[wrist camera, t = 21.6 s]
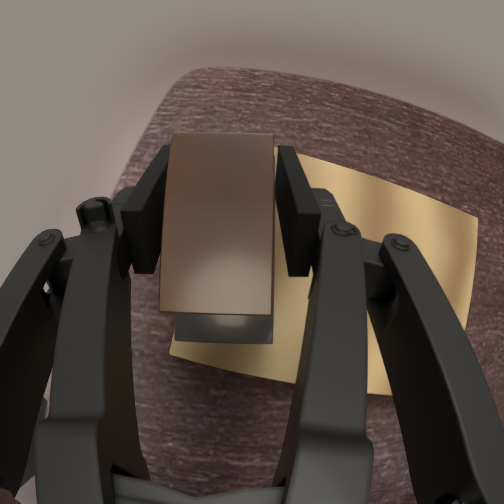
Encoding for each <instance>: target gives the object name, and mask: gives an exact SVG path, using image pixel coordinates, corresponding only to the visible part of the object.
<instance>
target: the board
mask: <svg viewBox="0 0 504 504" xmlns="http://www.w3.org/2000/svg"><path fill="white" fill-rule="evenodd" d="M277 154H278V148H274V155H275V178H276V166H277ZM296 154H297V153H296ZM297 156H298V158H299V161H300V163H301V165H302V168H303V170H304V172H305V175H306V177H307V179H308V182H309V184H310V187H311V188H325V189H327V190H328V191H329V192H330V193H332V194H333V196H334V198H335V200H336V202H337V204H338V206H339V208H340V210H341V212H342V214H343V216H344V218H345V220H346V221H347V222H350V223H351V224H353V225H355V226H356V227H357V228H358V229H359V230H360V232H361V237H362V238H365V239H368V240H372V241H376V242H380V243H382V241H383V238H384V236H385V235H387V234H390V233H396V234H402V235H403V236H406V237H408V238H409V239H411V240H412V241H413V242H414V243H415V244H416V245H417V247H418V248H419V250H420V252H421V253H422V255H423V257H424V258H425V260H426V261H427V263H428V265H429V266H430V268H431V270H432V271H433V273H434V275H435V277H436V278H437V280H438V282H439V284H440V285H441V287H442V289H443V291H444V293H445V294H446V296H447V298H448V300H449V302H450V304H451V306H452V307H453V309H454V311H455V313H456V315H457V317H458V319H459V321H460V323H461V325H462V327H463V329H464V331H465V326H466V321H467V316H468V311H469V305H470V299H471V293H472V286H473V278H474V270H475V260H476V249H477V234H478V218H476V217H474V216H471V215H469V214H467V213H465V212H463V211H460V210H458V209H456V208H453V207H451V206H449V205H446V204H444V203H442V202H439V201H437V200H434V199H432V198H429V197H427V196H424V195H422V194H419V193H417V192H414V191H412V190H409V189H406V188H404V187H401V186H398V185H396V184H393V183H390V182H387V181H384V180H382V179H379V178H376V177H373V176H370V175H367V174H364V173H361V172H358V171H355V170H352V169H349V168H345V167H342V166H339V165H336V164H332V163H329V162H326V161H322V160H319V159H315V158H312V157H308V156H305V155H301V154H297ZM312 277H313V271H312V267H311V268H310V273H309V277H288V271H287V265H286V259H285V253H284V246H283V241H282V235H281V229H280V223H279V217H278V211H277V206H276V200H275V280H274V326H273V344H224V343H200V342H182V341H175V340H174V333H173V338H172V342H171V347H170V352H169V354H170V355H173V356H176V357H180V358H183V359H187V360H190V361H194V362H198V363H202V364H205V365H209V366H213V367H217V368H221V369H226V370H230V371H234V372H238V373H243V374H248V375H252V376H257V377H262V378H267V379H272V380H277V381H283V382H288V383H294V384H295V382H296V377H297V371H298V365H299V360H300V354H301V348H302V341H303V335H304V328H305V322H306V315H307V308H308V301H309V299H307V298H308V294H309V289H310V285H311V281H312ZM367 329H368V387H367V393H368V394H379V395H392V392H391V388H390V384H389V381H388V377H387V373H386V370H385V366H384V363H383V359H382V356H381V353H380V349H379V346H378V343H377V340H376V336H375V333H374V330H373V327H372V324H371V321H370V318H369V315H368V312H367Z"/></svg>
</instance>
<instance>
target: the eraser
mask: <svg viewBox="0 0 504 504" xmlns="http://www.w3.org/2000/svg"><path fill="white" fill-rule="evenodd" d="M274 280H275V155H274V135H273V134H262V133H232V132H188V133H172V138H171V145H170V153H169V161H168V170H167V179H166V189H165V200H164V211H163V224H162V239H161V257H160V281H159V311H160V312H168V313H174V340H175V341H182V342H200V343H224V344H273V326H274Z"/></svg>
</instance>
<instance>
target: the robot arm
mask: <svg viewBox="0 0 504 504" xmlns="http://www.w3.org/2000/svg"><path fill="white" fill-rule="evenodd" d="M169 153H170V145H163V147H162V148H161V150H160V151H159V152H158V154H157V155H156V157H155V158H154V159H153V161H152V162H151V164H150V165H149V167H148V168H147V170H146V171H145V173H144V174H143V176H142V177H141V179H140V180H139V182H138V183H137V185H136V186H135V187H125V188H124V189H122V190H121V191H119V192H118V193H117V195H116V196H115V198H114V200H112V202H111V200H110V199H109V198H107V197H95V198H91V199H88V200H86V201H84V202H83V203H81V204H80V205H79V206H78V207H77V208H76V213H77V216H78V219H79V223H80V226H81V233H80V235H79V236H75V237H70V238H66V239H64V238H63V235H62V232H61V231H60V230H58V229H50V230H49V229H48V230H46V231H43V232H41V233H40V234H39V235H37V236H36V237H35V238H34V239H33V240H32V242H31V243H30V244H29V246H28V247H27V249H26V250H25V252H24V253H23V254H22V256H21V257H20V259H19V260H18V262H17V263H16V264H15V266H14V267H13V269H12V270H11V272H10V274H9V275H8V277H7V278H6V280H5V282H4V283H3V285H2V286H1V288H0V504H21V503H20V502H19V501H18V500H16V499H14V498H15V496H16V494H17V492H18V490H19V487H20V484H21V481H22V479H23V476H24V472H25V467H26V463H27V459H28V454H29V449H30V445H31V440H32V436H33V432H34V428H35V424H36V420H37V416H38V413H39V409H40V406H41V402H42V399H43V395H44V392H45V389H46V386H47V383H48V379H49V376H50V373H51V371H52V380H51V391H50V407H49V415H48V417H47V419H44V420H42V421H39V423H38V425H37V426H36V430H35V439H34V459H35V483H36V496H37V504H369V497H370V489H371V480H372V471H373V460H374V449H373V445H372V442H371V441H370V440H369V439H368V438H367V436H366V413H367V387H368V329H367V312H368V315H369V318H370V321H371V324H372V327H373V330H374V333H375V336H376V340H377V343H378V346H379V349H380V353H381V356H382V359H383V363H384V366H385V370H386V373H387V377H388V381H389V384H390V388H391V392H392V396H393V399H394V403H395V407H396V411H397V415H398V420H399V424H400V428H401V432H402V437H403V442H404V446H405V451H406V456H407V461H408V466H409V471H410V477H411V482H412V486H413V490H414V495H415V497H416V500H417V503H418V504H504V429H503V426H502V423H501V420H500V417H499V414H498V411H497V408H496V405H495V402H494V400H493V397H492V394H491V391H490V389H489V386H488V384H487V381H486V379H485V376H484V374H483V371H482V369H481V366H480V364H479V362H478V359H477V357H476V355H475V353H474V350H473V348H472V346H471V344H470V342H469V340H468V337H467V335H466V333H465V331H464V329H463V327H462V325H461V323H460V321H459V319H458V317H457V315H456V313H455V311H454V309H453V307H452V306H451V304H450V302H449V300H448V298H447V296H446V294H445V293H444V291H443V289H442V287H441V285H440V284H439V282H438V280H437V278H436V277H435V275H434V273H433V271H432V270H431V268H430V266H429V265H428V263H427V261H426V260H425V258H424V257H423V255H422V253H421V252H420V250H419V248H418V247H417V245H416V244H415V243H414V242H413V241H412V240H411V239H409V238H408V237H406V236H403V235H402V234H396V233H390V234H387V235H385V236H384V238H383V241H382V243H380V242H376V241H372V240H368V239H365V238H362V237H361V232H360V230H359V229H358V228H357V227H356V226H355V225H353V224H351V223H350V222H347V221H346V220H345V218H344V216H343V214H342V212H341V210H340V208H339V206H338V204H337V202H336V200H335V198H334V196H333V194H332V193H330V192H329V191H328V190H327V189H325V188H311V187H310V184H309V182H308V179H307V177H306V175H305V172H304V170H303V168H302V165H301V163H300V161H299V158H298V156H297V154H296V152H295V149H294V147H293V146H281V145H278V154H277V166H276V178H275V200H276V206H277V211H278V217H279V223H280V229H281V235H282V241H283V246H284V253H285V259H286V265H287V271H288V277H309V273H310V268H311V267H312V271H313V277H312V281H311V285H310V289H309V294H308V298H307V299H309V301H308V308H307V315H306V322H305V328H304V335H303V341H302V348H301V354H300V360H299V365H298V371H297V377H296V382H295V388H294V393H293V399H292V404H291V409H290V414H289V419H288V424H287V429H286V434H285V438H284V443H283V447H282V452H281V456H280V460H279V463H278V466H277V469H276V472H275V476H274V480H273V484H272V487H265V488H243V489H239V490H234V491H229V492H224V493H219V494H213V495H208V496H201V497H193V496H189V495H186V494H183V493H180V492H177V491H175V490H172V489H169V488H166V487H164V486H161V485H158V484H156V483H153V482H151V481H150V476H149V472H148V468H147V465H146V462H145V460H144V457H143V455H142V452H141V449H140V443H139V435H138V427H137V418H136V409H135V398H134V386H133V372H132V352H131V279H130V275H129V272H128V270H129V268H130V265H131V263H132V265H133V269H134V273H135V274H154V271H155V268H156V265H157V261H158V258H159V255H160V252H161V239H162V224H163V211H164V200H165V189H166V179H167V170H168V161H169ZM46 282H47V284H48V286H49V289H48V291H47V293H46V292H45V291H44V289H43V287H44V284H45V283H46ZM52 368H53V370H52Z"/></svg>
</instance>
